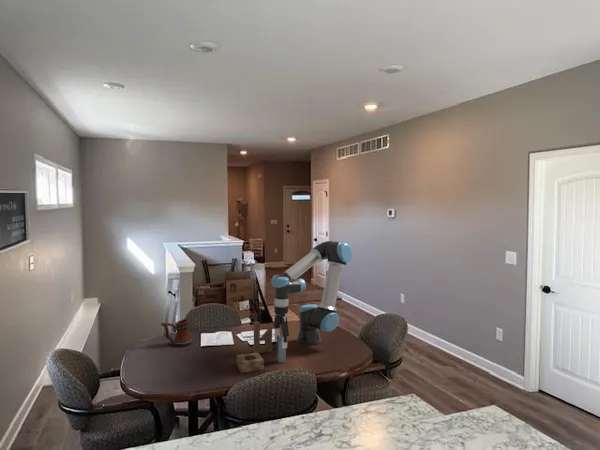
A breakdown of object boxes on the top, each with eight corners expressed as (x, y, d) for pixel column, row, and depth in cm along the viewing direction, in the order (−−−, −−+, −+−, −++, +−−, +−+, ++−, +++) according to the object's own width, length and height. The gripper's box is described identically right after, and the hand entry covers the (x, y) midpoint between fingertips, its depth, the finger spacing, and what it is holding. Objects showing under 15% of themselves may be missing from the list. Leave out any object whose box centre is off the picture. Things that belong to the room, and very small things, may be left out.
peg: (283, 359, 236) (283, 334, 235) (285, 362, 232) (285, 337, 231) (276, 360, 235) (276, 335, 234) (278, 363, 231) (278, 337, 230)
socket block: (258, 361, 233) (258, 352, 233) (263, 369, 222) (263, 360, 221) (236, 364, 229) (236, 355, 228) (241, 372, 218) (241, 363, 217)
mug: (161, 349, 250) (161, 324, 249) (161, 342, 261) (161, 318, 260) (192, 346, 256) (192, 321, 255) (191, 340, 267) (191, 316, 266)
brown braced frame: (272, 351, 247) (272, 321, 246) (254, 354, 244) (254, 323, 242) (270, 349, 251) (270, 319, 250) (252, 352, 247) (252, 321, 246)
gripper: (268, 301, 242) (267, 337, 243) (281, 311, 218) (281, 352, 219) (281, 300, 244) (280, 336, 245) (295, 310, 221) (294, 350, 222)
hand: (280, 344), depth 232 cm, fingers open, 13 cm apart
